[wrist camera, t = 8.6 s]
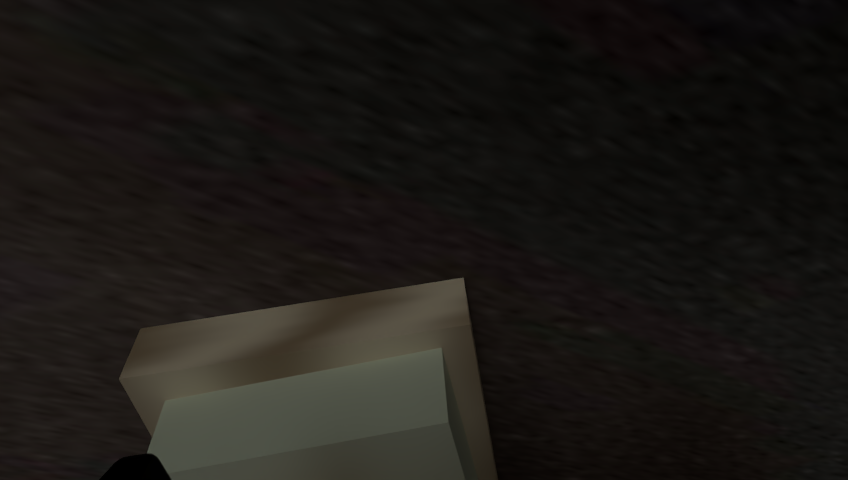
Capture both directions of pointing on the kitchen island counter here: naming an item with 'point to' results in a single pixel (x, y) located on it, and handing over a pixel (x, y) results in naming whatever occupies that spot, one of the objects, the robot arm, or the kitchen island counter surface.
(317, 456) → the top slab
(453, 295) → the base slab
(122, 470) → the robot arm
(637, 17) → the kitchen island counter surface
